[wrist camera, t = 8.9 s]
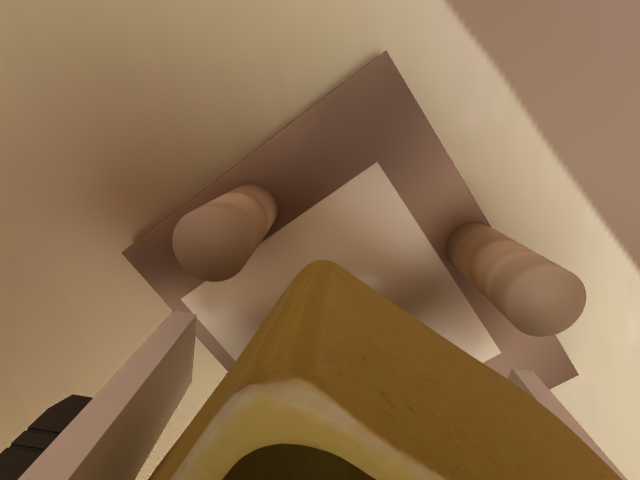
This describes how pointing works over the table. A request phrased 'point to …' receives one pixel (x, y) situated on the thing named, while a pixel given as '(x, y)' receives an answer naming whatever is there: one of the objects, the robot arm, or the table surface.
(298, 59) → the table surface
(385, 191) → the pin board
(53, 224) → the table surface
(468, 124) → the table surface
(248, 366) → the flower pot
